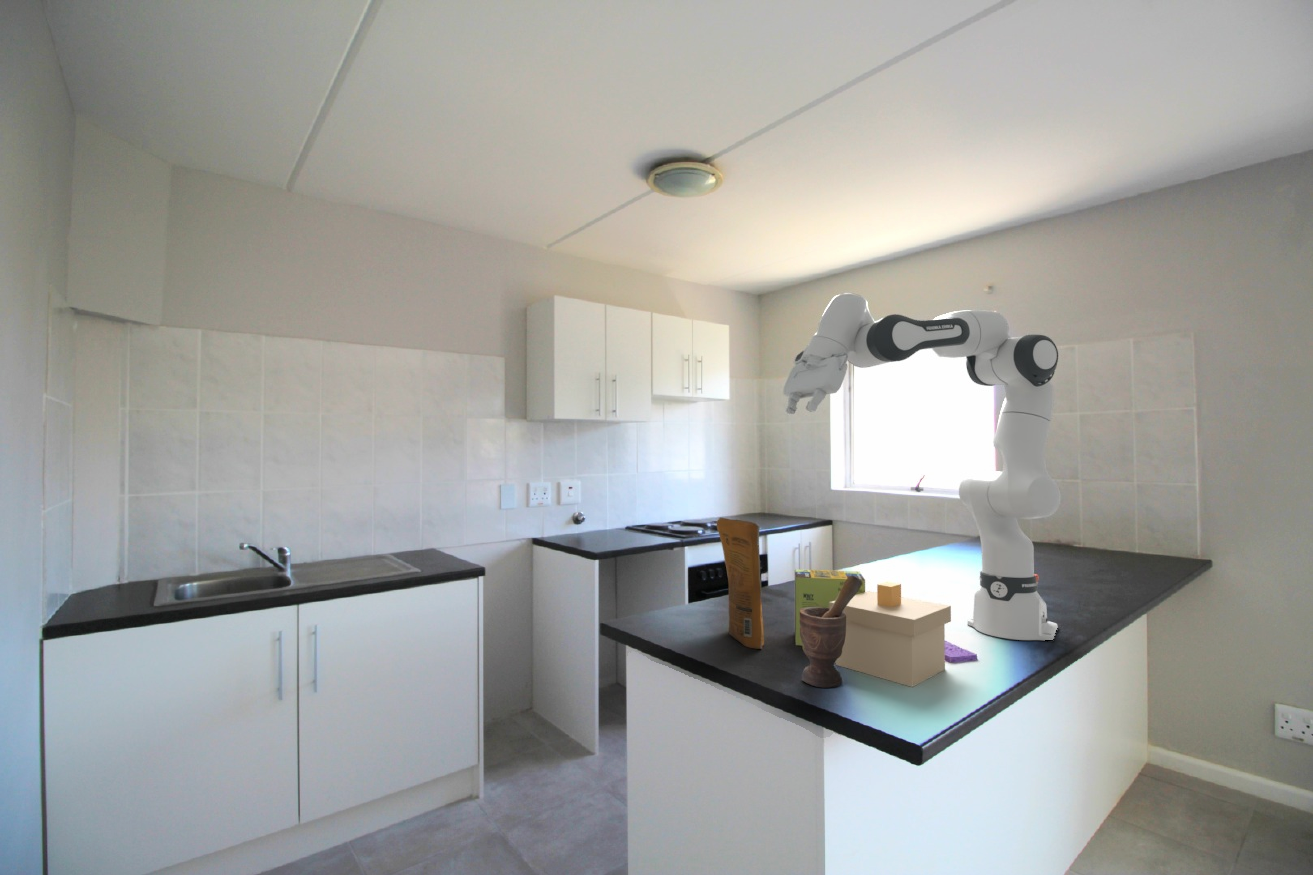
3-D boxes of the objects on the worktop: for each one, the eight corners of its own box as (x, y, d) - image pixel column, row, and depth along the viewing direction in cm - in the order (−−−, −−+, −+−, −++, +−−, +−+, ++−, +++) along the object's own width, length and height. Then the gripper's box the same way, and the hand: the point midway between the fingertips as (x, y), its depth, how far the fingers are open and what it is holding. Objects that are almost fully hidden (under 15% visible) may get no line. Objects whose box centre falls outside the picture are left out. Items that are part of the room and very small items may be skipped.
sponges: (937, 644, 141) (937, 636, 141) (978, 662, 128) (978, 653, 129) (910, 646, 139) (910, 638, 139) (950, 665, 127) (950, 656, 127)
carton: (871, 650, 135) (870, 595, 135) (944, 669, 123) (944, 609, 123) (835, 664, 125) (835, 605, 126) (912, 686, 113) (911, 621, 114)
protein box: (866, 650, 135) (866, 579, 135) (795, 645, 138) (794, 576, 138) (860, 636, 145) (860, 570, 145) (794, 632, 148) (793, 568, 149)
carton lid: (869, 605, 136) (868, 572, 136) (950, 621, 123) (950, 585, 123) (829, 617, 126) (829, 582, 126) (914, 636, 112) (913, 597, 113)
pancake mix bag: (745, 653, 132) (745, 523, 133) (714, 629, 151) (714, 515, 152) (774, 650, 134) (773, 522, 135) (739, 627, 153) (739, 514, 153)
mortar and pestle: (837, 668, 123) (836, 568, 124) (869, 683, 115) (868, 576, 116) (790, 677, 118) (790, 573, 119) (820, 693, 110) (819, 581, 111)
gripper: (861, 358, 129) (835, 415, 127) (813, 370, 149) (789, 420, 147) (838, 343, 128) (811, 401, 126) (792, 357, 147) (768, 408, 146)
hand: (799, 411), depth 137 cm, fingers open, 8 cm apart
